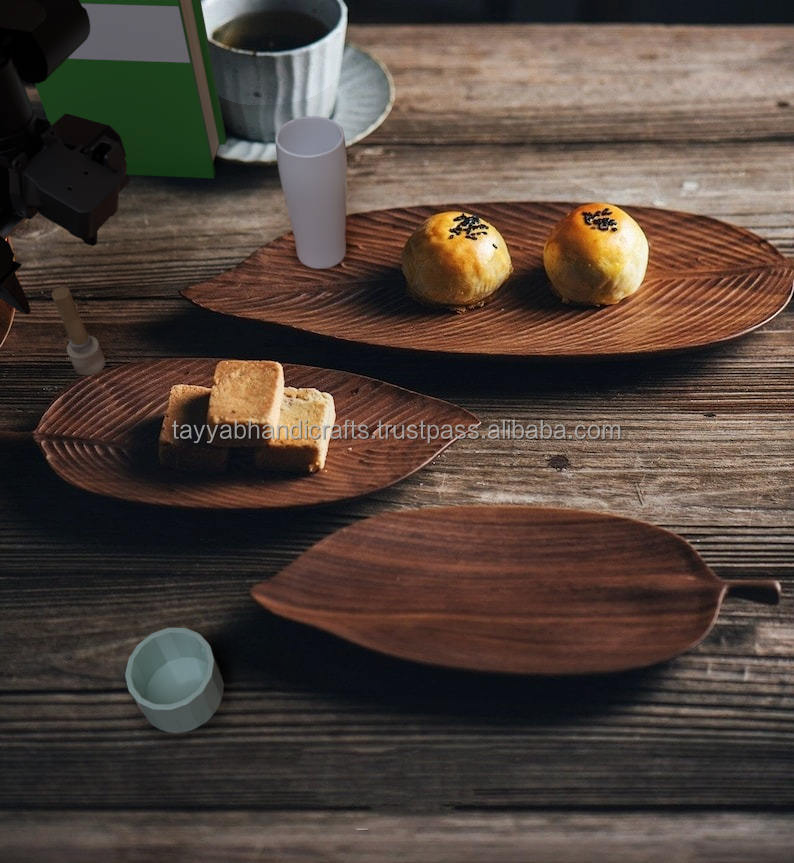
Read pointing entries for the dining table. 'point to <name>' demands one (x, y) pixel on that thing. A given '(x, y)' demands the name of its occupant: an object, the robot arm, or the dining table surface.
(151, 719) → the cup
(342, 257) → the drinking glass
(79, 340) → the brush
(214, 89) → the hardback book
